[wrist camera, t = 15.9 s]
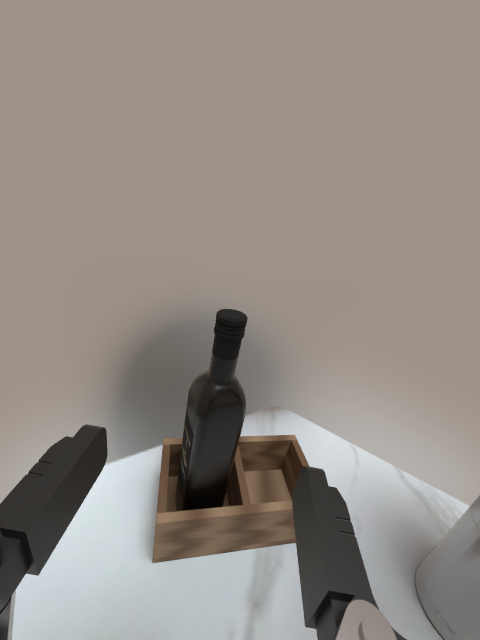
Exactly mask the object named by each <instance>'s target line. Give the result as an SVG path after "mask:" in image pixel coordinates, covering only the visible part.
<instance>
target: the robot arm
mask: <svg viewBox="0 0 480 640" xmlns="http://www.w3.org/2000/svg"><path fill="white" fill-rule="evenodd" d="M106 459H107V438H106V429H105V428H103V427H98V426H92V425H84V426H82V427H81V428H80V430H79V431H78V432H77V433H76V435H75V436H74V437H73V438H72V437H67V436H66V437H64V438H63V439H61V440H60V441H58V442H57V443H56V444H54V445H53V446H51V447H50V448H49V449H48V450H47V452H46V453H45V454H44V455H43V456H42V457H41V458H40V459H39V462H38V463H36V464H35V465H34V466H33V467H32V469H31V470H30V471H29V473H28V474H27V475H25V477H24V478H23V479H22V480H21V481H20V482H19V483H18V484H17V485H16V487H15V488H14V489H13V490H12V491H11V492H10V493H9V495H8V496H7V497H6V498H5V499H4V500H3V501H2V502H1V504H0V640H12V631H13V618H14V606H15V594H16V588H17V587H18V585H19V583H20V582H21V580H22V579H23V577H24V576H25V574H26V573H27V574H32V575H39V573H40V572H41V570H42V568H43V567H44V565H45V564H46V562H47V560H48V559H49V557H50V555H51V554H52V552H53V550H54V549H55V547H56V545H57V544H58V542H59V540H60V539H61V537H62V536H63V534H64V532H65V531H66V529H67V527H68V526H69V524H70V522H71V521H72V519H73V517H74V516H75V514H76V512H77V511H78V509H79V507H80V506H81V504H82V503H83V501H84V499H85V498H86V496H87V494H88V493H89V491H90V489H91V488H92V486H93V484H94V483H95V481H96V479H97V478H98V476H99V474H100V473H101V471H102V469H103V467H104V465H105V462H106ZM292 508H293V518H294V527H295V536H296V545H297V555H298V564H299V573H300V582H301V592H302V601H303V610H304V619H305V627H309V628H314V629H316V630H317V637H318V640H406V639H405V638H403V637H402V636H401V635H399V634H398V633H397V632H396V631H395V630H394V629H393V628H392V627H391V626H390V624H389V622H388V621H387V619H386V618H385V617H384V615H383V614H382V613H381V612H380V610H379V608H378V607H377V604H376V602H375V600H374V597H373V594H372V591H371V588H370V584H369V581H368V578H367V574H366V571H365V567H364V564H363V560H362V557H361V554H360V550H359V547H358V543H357V540H356V537H355V535H354V534H355V533H354V530H353V526H352V523H351V522H350V520H351V519H350V516H349V512H348V509H347V505H346V502H345V501H344V499H343V498H342V496H341V494H340V493H339V491H338V490H337V488H335V487H330V486H328V483H327V479H326V475H325V472H324V470H323V469H318V468H313V467H308V466H303V468H302V470H301V472H300V475H299V477H298V480H297V482H296V485H295V487H294V490H293V496H292ZM415 584H416V589H417V593H418V596H419V599H420V601H421V604H422V606H423V608H424V610H425V612H426V614H427V616H428V617H429V619H430V621H431V622H432V624H433V625H434V627H435V628H436V629H437V631H438V632H439V633H440V635H441V636H442V637H443V638H444V640H480V495H479V497H478V498H477V499H476V500H475V501H474V503H473V504H472V505H471V506H470V507H469V509H468V510H467V511H466V512H465V513H464V514H463V516H462V517H461V518H460V519H459V520H458V521H457V523H456V524H455V525H454V526H453V527H452V528H451V530H450V531H449V532H448V533H447V534H446V535H445V537H444V538H443V539H442V540H441V541H440V542H439V543H438V545H437V546H436V547H435V548H434V549H433V550H432V551H431V553H430V554H429V555H428V556H427V557H426V558H425V560H424V561H423V562H422V563H421V564H420V566H419V567H418V569H417V570H416V575H415Z"/></svg>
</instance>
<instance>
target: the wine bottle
mask: <svg viewBox="0 0 480 640" xmlns="http://www.w3.org/2000/svg"><path fill="white" fill-rule="evenodd" d="M246 323H247V316H246V315H245V314H244V313H242V312H240V311H237V310H232V309H222V310H219V311H218V312H217V315H216V324H215V328H214V333H215V338H214V344H213V350H212V356H211V362H210V368H209V370H208V371H205V372H203V373H201V374H200V375H198V376H197V377H196V378H195V379H194V380H193V382H192V384H191V386H190V388H189V393H188V401H187V409H186V417H185V424H184V432H183V440H182V448H181V456H180V464H179V472H178V480H177V488H176V496H175V499H176V506H177V511H187V510H197V509H207V508H217V507H223V503H224V499H225V495H226V491H227V487H228V483H229V479H230V475H231V471H232V467H233V463H234V459H235V455H236V451H237V447H238V442H239V438H240V434H241V430H242V426H243V422H244V418H245V414H246V401H245V394H244V391H243V388H242V387H241V385H240V383H239V381H238V379H237V377H236V376H235V375H234V374H235V369H236V364H237V359H238V354H239V350H240V345H241V340H242V338H243V337H244V331H245V326H246Z"/></svg>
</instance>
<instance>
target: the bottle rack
mask: <svg viewBox="0 0 480 640" xmlns="http://www.w3.org/2000/svg"><path fill="white" fill-rule="evenodd" d="M182 440H183V438H174V439H164V440H163V450H162V462H161V473H160V484H159V495H158V506H157V518H156V529H155V541H154V553H153V563H156V562H163V561H170V560H177V559H184V558H191V557H198V556H205V555H212V554H219V553H226V552H233V551H240V550H247V549H254V548H261V547H268V546H275V545H282V544H289V543H296V536H295V527H294V518H293V508H292V496H293V490H294V487H295V485H296V482H297V480H298V477H299V475H300V472H301V470H302V468H303V466H308V467H309V465H308V462H307V460H306V458H305V456H304V454H303V452H302V450H301V447H300V445H299V443H298V441H297V439H296V437H295V435H277V436H243V437H240V438H239V442H238V447H237V451H236V455H235V459H234V463H233V467H232V471H231V475H230V479H229V483H228V487H227V491H226V495H225V499H224V503H223V507H217V508H207V509H197V510H187V511H177V506H176V499H175V496H176V488H177V480H178V472H179V464H180V456H181V448H182Z"/></svg>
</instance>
